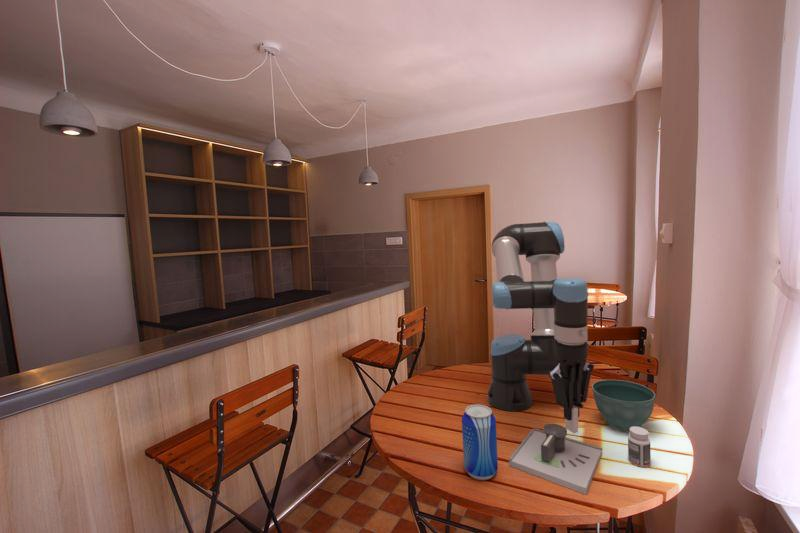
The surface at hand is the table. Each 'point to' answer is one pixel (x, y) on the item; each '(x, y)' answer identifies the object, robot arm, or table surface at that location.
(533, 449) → the tuner board
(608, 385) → the flower pot
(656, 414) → the table surface
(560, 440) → the tuner knob
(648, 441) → the pill bottle
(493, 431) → the beer can
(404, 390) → the table surface
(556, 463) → the green curved panel
